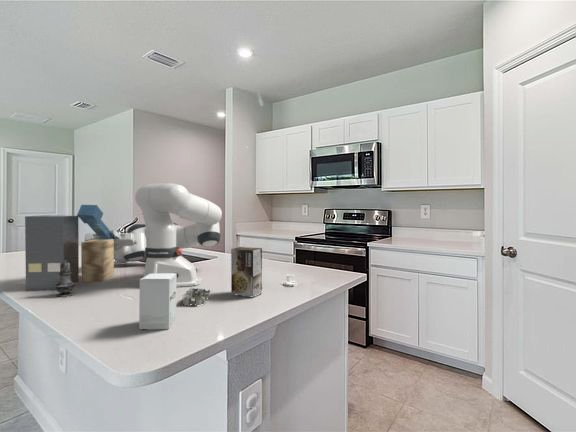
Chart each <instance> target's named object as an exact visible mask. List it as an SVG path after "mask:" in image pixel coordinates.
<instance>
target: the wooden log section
mask: <svg viewBox="0 0 576 432" xmlns="http://www.w3.org/2000/svg"><path fill="white" fill-rule="evenodd" d="M80 244H81V245H80V248H81V249H80V250H81V256H80V257H81V258H80V259H81V260H80V261H81V268H80V269H81V274H80V275H81V276H80V278H81V282H84V283H86V282H104V281H106V280H107V279H109V278H111V277H113V276H114V274H115V272H114V271H115V270H114V269H115V260H114V239H93V240H89V241H85V240H84V241H82V242H81V243H80Z"/></svg>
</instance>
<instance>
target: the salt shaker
mask: <svg viewBox="0 0 576 432" xmlns="http://www.w3.org/2000/svg"><path fill="white" fill-rule="evenodd" d="M71 273H72V272H70V263H68V262H66V260H64V262H63V263H61V264H60V273H59V275H60V281H59V283H58V284H56V285H55V287H56V290H55V291H56V292H58V293H57V294H56V295H55V297H56V298H68V297H67V296H69V297H72V295H73V296H74V295H75V294H76V293H75V292H73V290H74V289H75V287H76V284H77V283H73V282H72V281H71Z"/></svg>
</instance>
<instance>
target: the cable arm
mask: <svg viewBox="0 0 576 432" xmlns="http://www.w3.org/2000/svg"><path fill="white" fill-rule="evenodd" d="M76 216H78V219H80V220H81V221H82V222H83V224H87V225H88V227H89V228H91V230H92V231H93V232H94V233H96V234H97V235H98V236H99V238H100V239H115V236H112V235H111V231H112V230H110V229H109V228H108V226H107V225H106V223H104V221H103V220H102V218H103V216H104V212H103V211H102V209H100V207H99V206H98V205H97V204H81V205H80V208H79V210H78V212H77V214H76Z"/></svg>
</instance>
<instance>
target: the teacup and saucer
mask: <svg viewBox="0 0 576 432" xmlns="http://www.w3.org/2000/svg"><path fill="white" fill-rule="evenodd" d="M286 282H287V283H284V285H294V284H295V285H296V283H291V282H295V274H293V273H288V274H287V273H286ZM295 285H294V286H295Z"/></svg>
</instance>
